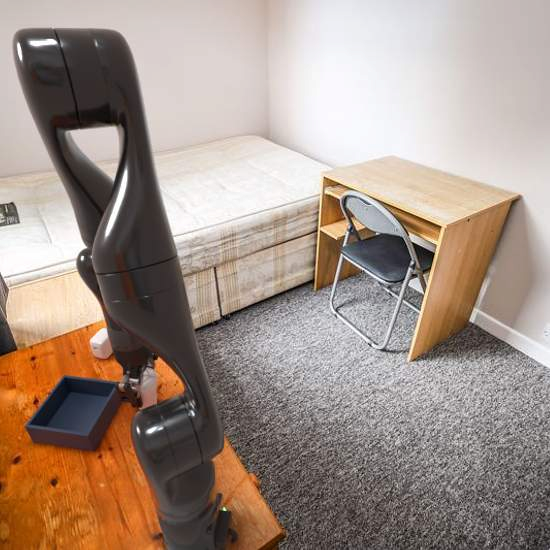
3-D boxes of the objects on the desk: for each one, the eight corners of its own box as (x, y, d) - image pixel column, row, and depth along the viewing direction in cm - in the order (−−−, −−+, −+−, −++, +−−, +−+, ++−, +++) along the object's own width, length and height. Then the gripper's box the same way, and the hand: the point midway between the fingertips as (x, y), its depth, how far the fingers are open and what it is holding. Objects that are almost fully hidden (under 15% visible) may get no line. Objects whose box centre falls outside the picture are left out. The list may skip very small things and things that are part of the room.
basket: (124, 397, 88) (119, 382, 85) (94, 451, 77) (87, 436, 74) (70, 390, 89) (63, 374, 86) (33, 442, 78) (24, 426, 75)
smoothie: (167, 396, 88) (158, 353, 80) (157, 421, 83) (146, 377, 75) (140, 394, 88) (128, 351, 81) (128, 418, 83) (115, 374, 75)
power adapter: (118, 328, 106) (113, 312, 103) (133, 332, 105) (129, 316, 102) (91, 357, 97) (85, 340, 94) (107, 361, 96) (102, 344, 93)
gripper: (132, 366, 67) (147, 424, 77) (163, 314, 79) (173, 369, 88) (92, 361, 68) (112, 419, 77) (128, 310, 80) (142, 365, 89)
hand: (144, 392), depth 83 cm, fingers closed on smoothie, 6 cm apart
